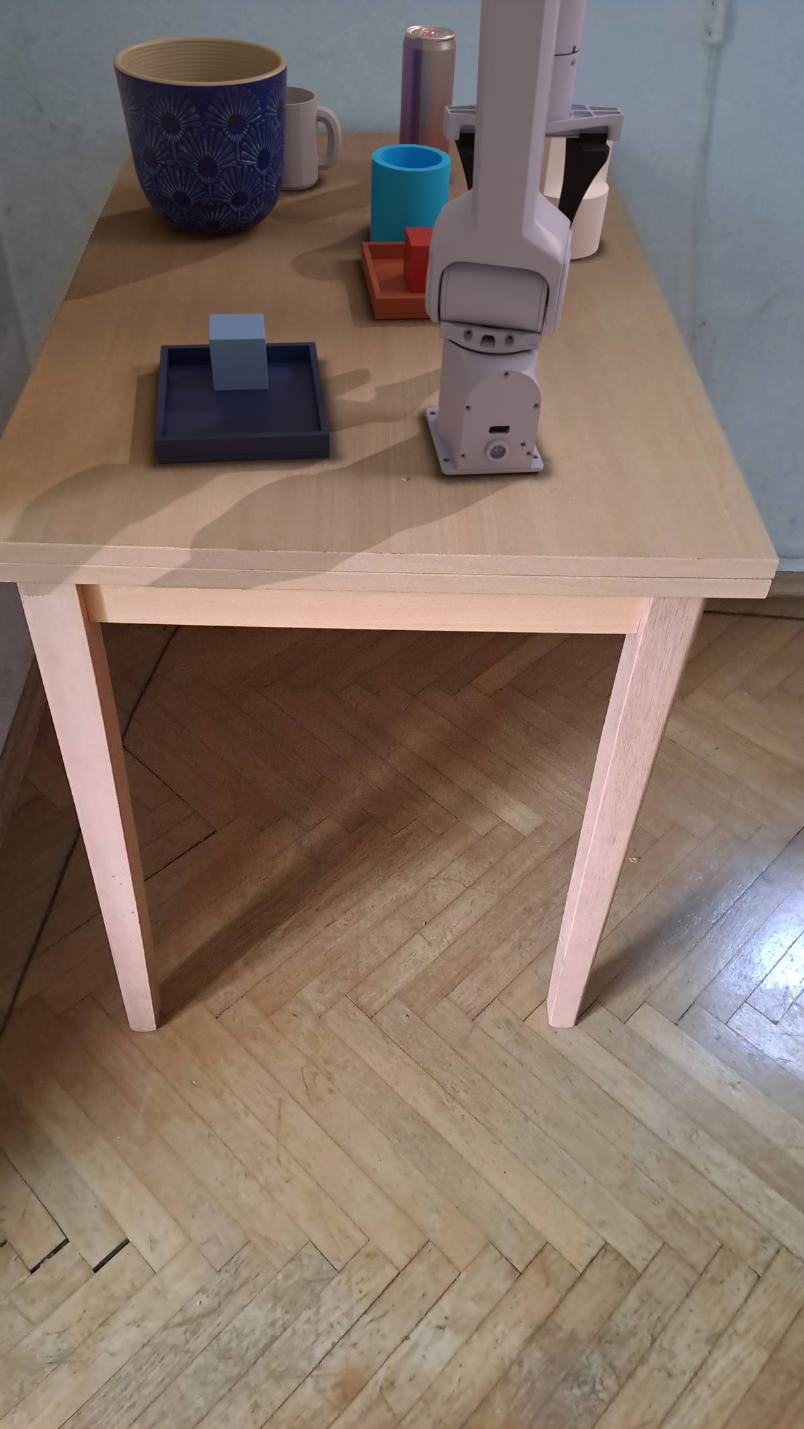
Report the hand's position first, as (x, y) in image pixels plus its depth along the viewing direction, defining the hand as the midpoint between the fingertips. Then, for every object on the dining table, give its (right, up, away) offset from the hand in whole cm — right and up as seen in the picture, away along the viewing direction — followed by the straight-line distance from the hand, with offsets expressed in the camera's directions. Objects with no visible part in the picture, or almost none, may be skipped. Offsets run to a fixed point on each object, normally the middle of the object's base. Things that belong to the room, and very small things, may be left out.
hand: (520, 229), depth 86 cm
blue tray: (-24, -17, -5) cm, 29 cm away
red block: (-8, +1, +13) cm, 15 cm away
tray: (-8, 0, +13) cm, 15 cm away
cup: (-23, +21, +32) cm, 45 cm away
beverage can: (-8, +23, +34) cm, 42 cm away
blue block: (-24, -14, -2) cm, 28 cm away
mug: (-10, +10, +22) cm, 27 cm away
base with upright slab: (+7, +9, +22) cm, 25 cm away
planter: (-31, +12, +23) cm, 40 cm away
